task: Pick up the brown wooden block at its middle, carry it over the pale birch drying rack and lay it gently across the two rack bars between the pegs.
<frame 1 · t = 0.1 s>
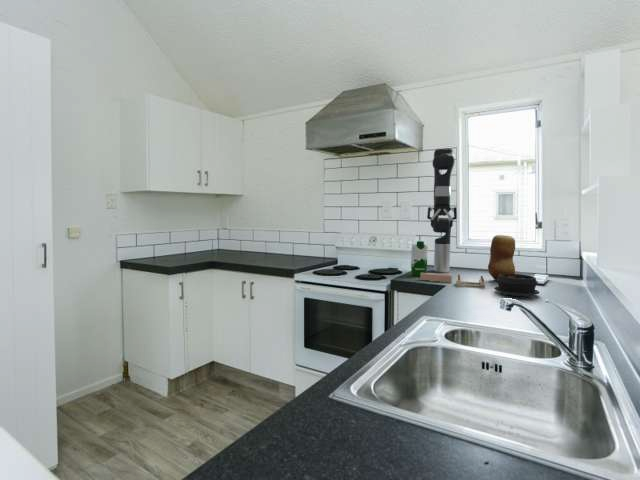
hand: (441, 227, 202), 29 cm above the worktop, tool pointing down, fingers open, 8 cm apart
milk carton: (418, 276, 229), on the worktop
casserole: (516, 294, 181), on the worktop
butternut squash: (500, 281, 214), on the worktop
brown wooden block: (435, 281, 213), on the worktop
rack: (470, 285, 201), on the worktop
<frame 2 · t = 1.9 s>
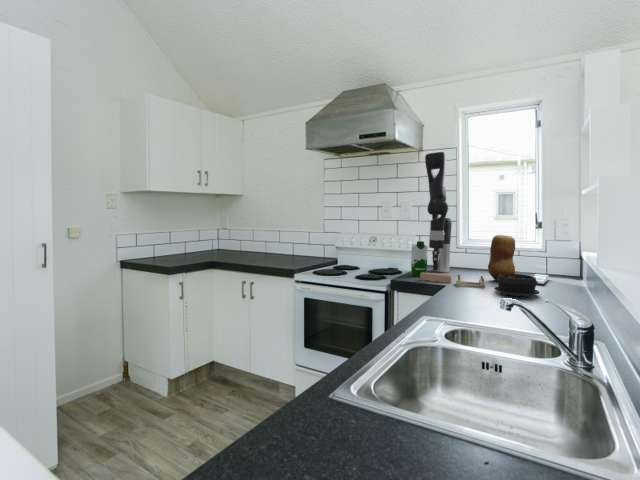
hand: (435, 269, 212), 6 cm above the worktop, tool pointing down, fingers open, 8 cm apart
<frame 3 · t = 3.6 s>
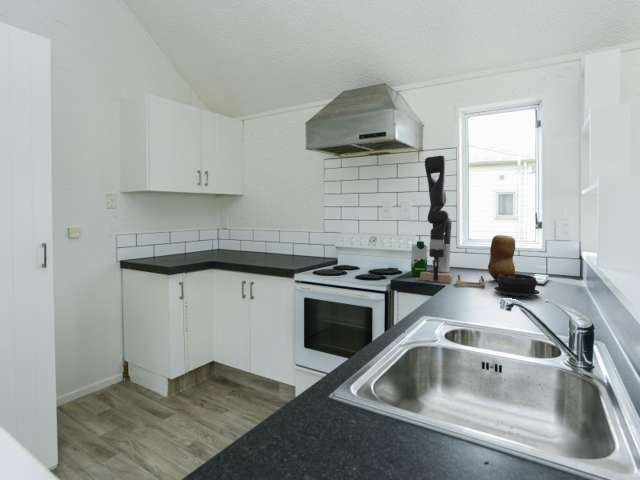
hand: (435, 279, 212), 1 cm above the worktop, tool pointing down, fingers closed on brown wooden block, 4 cm apart
brown wooden block: (435, 281, 213), on the worktop, touching gripper
everything else where it was.
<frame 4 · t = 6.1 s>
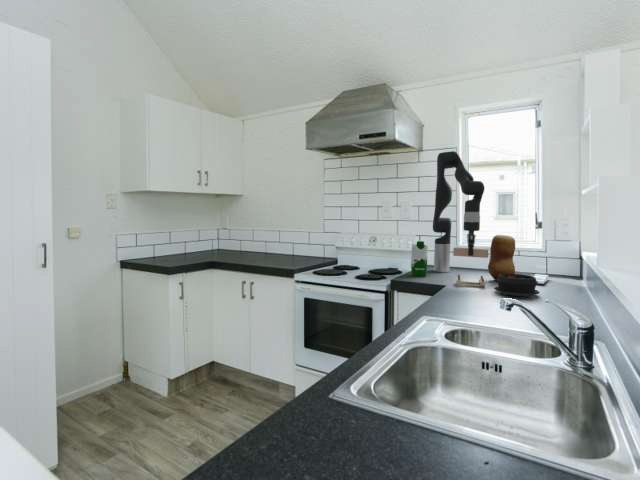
hand: (470, 254, 200), 16 cm above the worktop, tool pointing down, fingers closed on brown wooden block, 4 cm apart
brown wooden block: (470, 256, 200), point 15 cm above the worktop, touching gripper
everything else where it was.
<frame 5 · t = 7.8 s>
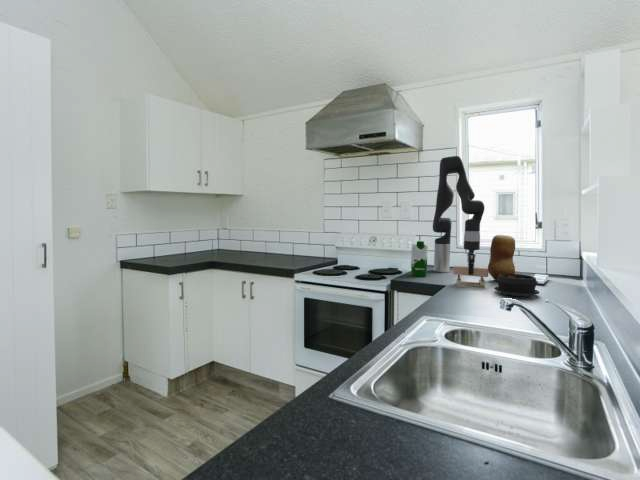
hand: (470, 273, 200), 6 cm above the worktop, tool pointing down, fingers closed on brown wooden block, 4 cm apart
brown wooden block: (470, 275, 200), point 5 cm above the worktop, touching gripper
everything else where it was.
when the fingers open (5 cm above the worktop, at t = 8.8 s): brown wooden block stays where it is, resting on rack.
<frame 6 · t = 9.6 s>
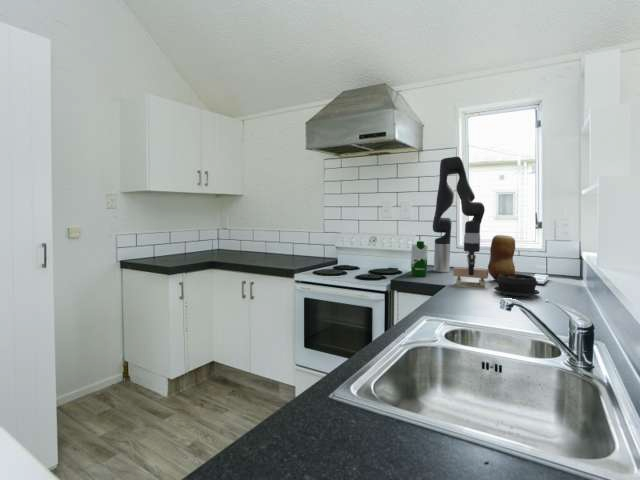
hand: (470, 273, 200), 6 cm above the worktop, tool pointing down, fingers open, 8 cm apart
brown wooden block: (470, 276, 200), point 4 cm above the worktop, touching rack
everything else where it was.
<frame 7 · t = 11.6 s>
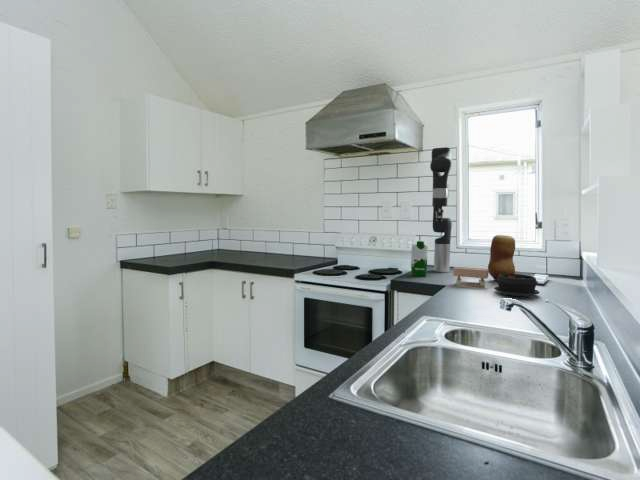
hand: (439, 228, 210), 28 cm above the worktop, tool pointing down, fingers open, 8 cm apart
nothing on the worktop moved.
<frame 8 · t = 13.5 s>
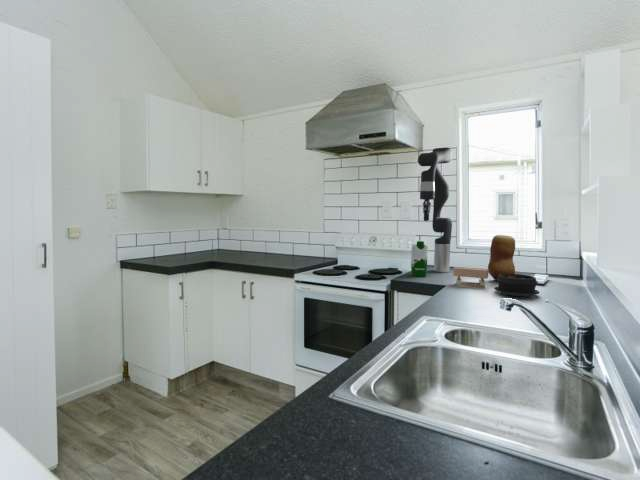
hand: (426, 220, 214), 32 cm above the worktop, tool pointing down, fingers open, 8 cm apart
nothing on the worktop moved.
at the end: brown wooden block 0.0 cm off-centre on the rack, point 4.5 cm above the rack's base; the gripper is holding nothing; brown wooden block touching rack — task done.
